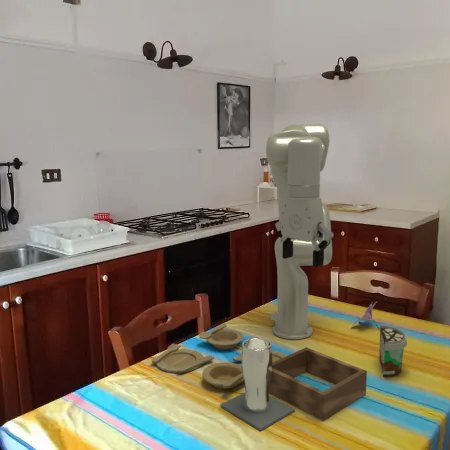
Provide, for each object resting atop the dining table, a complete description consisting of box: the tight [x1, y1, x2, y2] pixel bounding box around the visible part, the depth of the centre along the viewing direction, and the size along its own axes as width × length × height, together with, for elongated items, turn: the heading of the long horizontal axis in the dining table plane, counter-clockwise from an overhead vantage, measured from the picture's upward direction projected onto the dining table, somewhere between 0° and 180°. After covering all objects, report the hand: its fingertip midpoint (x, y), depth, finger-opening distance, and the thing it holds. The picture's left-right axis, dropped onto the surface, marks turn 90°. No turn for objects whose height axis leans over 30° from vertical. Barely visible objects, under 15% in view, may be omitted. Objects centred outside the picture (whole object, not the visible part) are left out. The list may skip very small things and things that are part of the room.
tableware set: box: [151, 323, 291, 390], centre depth 133 cm, size 35×29×4 cm
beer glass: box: [240, 337, 273, 413], centre depth 108 cm, size 7×7×15 cm
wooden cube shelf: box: [269, 346, 368, 422], centre depth 116 cm, size 18×16×6 cm
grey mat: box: [220, 392, 296, 432], centre depth 109 cm, size 13×11×1 cm
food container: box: [378, 325, 408, 378], centre depth 126 cm, size 12×6×10 cm, turn 168°
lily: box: [350, 302, 380, 330], centre depth 155 cm, size 12×12×10 cm
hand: (302, 261), depth 116 cm, fingers open, 9 cm apart
